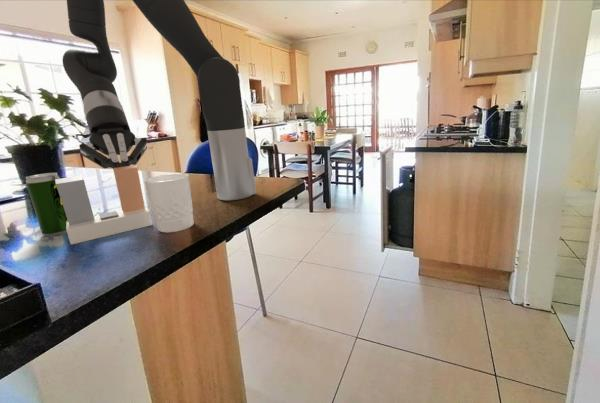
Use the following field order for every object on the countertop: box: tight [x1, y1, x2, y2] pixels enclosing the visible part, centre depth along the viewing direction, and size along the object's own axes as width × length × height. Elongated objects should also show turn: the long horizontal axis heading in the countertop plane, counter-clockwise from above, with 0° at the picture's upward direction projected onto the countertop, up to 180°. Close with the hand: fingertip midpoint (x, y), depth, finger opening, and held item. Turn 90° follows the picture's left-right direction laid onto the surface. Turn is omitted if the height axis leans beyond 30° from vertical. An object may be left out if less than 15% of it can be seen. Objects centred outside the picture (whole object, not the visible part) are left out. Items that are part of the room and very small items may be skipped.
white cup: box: [143, 172, 195, 233], centre depth 61 cm, size 8×8×10 cm
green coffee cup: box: [25, 172, 68, 238], centre depth 63 cm, size 5×5×12 cm
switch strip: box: [66, 206, 153, 245], centre depth 63 cm, size 14×6×3 cm, turn 125°
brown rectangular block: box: [112, 164, 146, 213], centre depth 63 cm, size 4×2×9 cm, turn 125°
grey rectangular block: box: [55, 175, 95, 225], centre depth 57 cm, size 4×2×9 cm, turn 125°
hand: (125, 180), depth 63 cm, fingers closed
